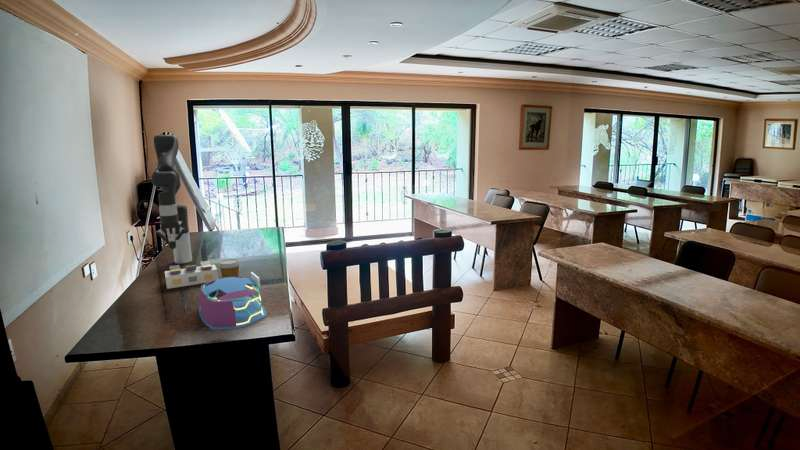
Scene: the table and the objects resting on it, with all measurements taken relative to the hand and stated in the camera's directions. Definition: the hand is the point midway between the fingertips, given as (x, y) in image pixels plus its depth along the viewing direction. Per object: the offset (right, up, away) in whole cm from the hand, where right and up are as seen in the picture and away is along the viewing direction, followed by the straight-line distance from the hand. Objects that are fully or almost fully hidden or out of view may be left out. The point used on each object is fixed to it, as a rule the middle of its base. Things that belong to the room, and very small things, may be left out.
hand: (172, 248), depth 211 cm
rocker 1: (0, -10, +2) cm, 11 cm away
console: (+6, -17, +7) cm, 19 cm away
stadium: (+41, -25, -30) cm, 57 cm away
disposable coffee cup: (+27, -18, +2) cm, 33 cm away
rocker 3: (+12, -9, +9) cm, 17 cm away
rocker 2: (+6, -10, +6) cm, 13 cm away
